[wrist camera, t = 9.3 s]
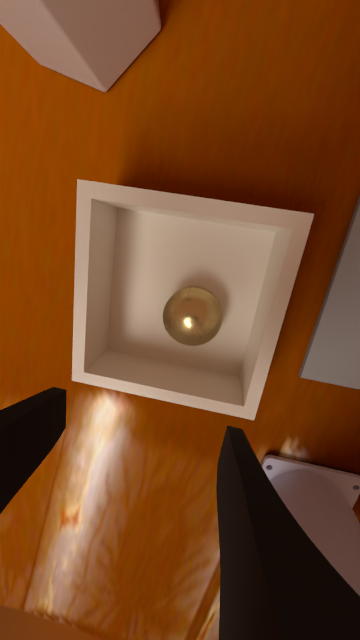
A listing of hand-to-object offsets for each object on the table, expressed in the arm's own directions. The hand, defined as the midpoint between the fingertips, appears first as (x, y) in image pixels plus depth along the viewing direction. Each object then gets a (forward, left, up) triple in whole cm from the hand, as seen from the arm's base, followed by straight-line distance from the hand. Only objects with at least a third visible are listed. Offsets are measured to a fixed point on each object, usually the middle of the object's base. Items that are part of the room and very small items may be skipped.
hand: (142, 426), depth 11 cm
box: (+4, 0, -9) cm, 10 cm away
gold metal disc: (+3, -1, -9) cm, 9 cm away
